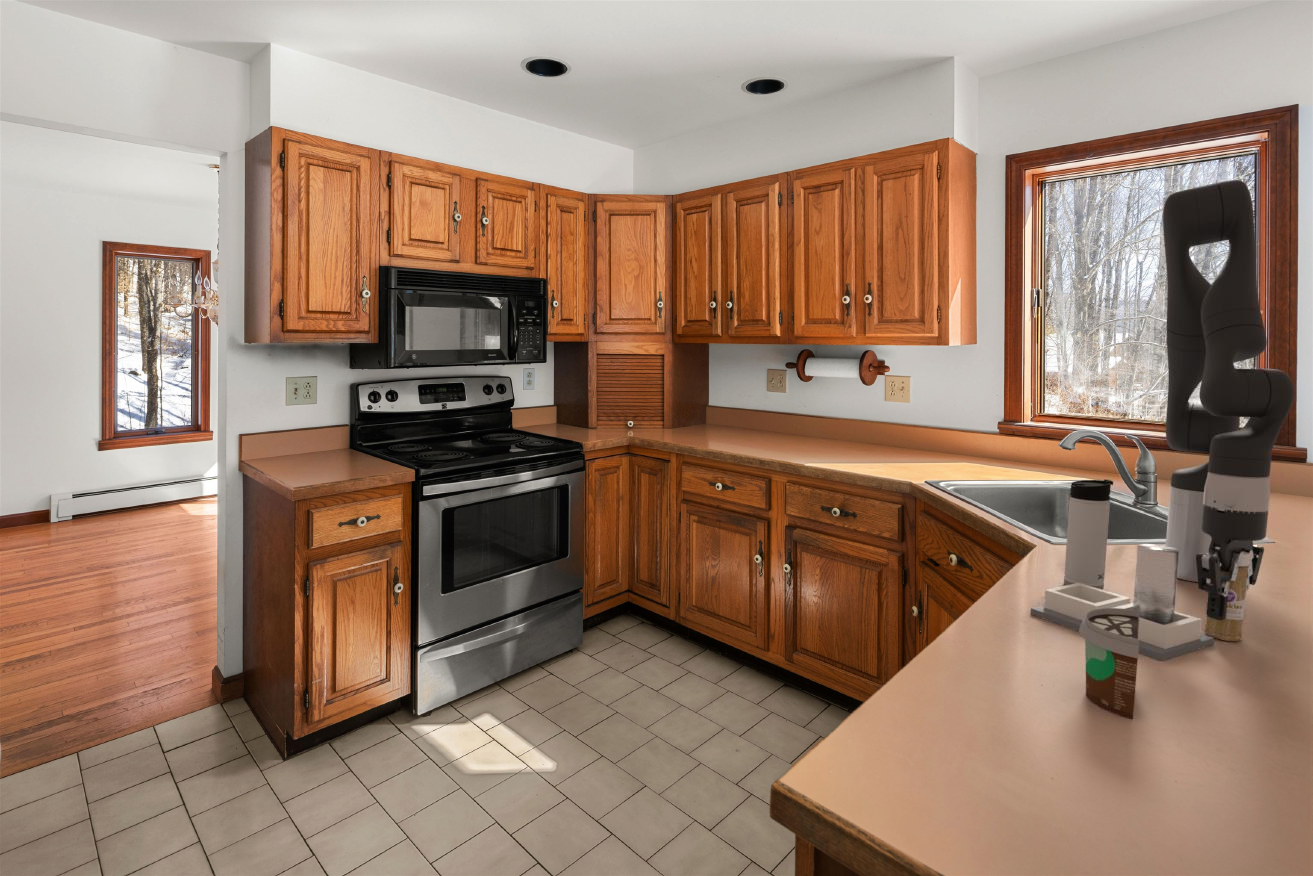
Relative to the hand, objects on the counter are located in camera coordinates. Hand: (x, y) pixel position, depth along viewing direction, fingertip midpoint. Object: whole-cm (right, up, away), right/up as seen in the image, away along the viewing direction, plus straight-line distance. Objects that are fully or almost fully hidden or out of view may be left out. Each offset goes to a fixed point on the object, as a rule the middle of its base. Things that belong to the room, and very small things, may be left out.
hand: (1224, 615), depth 106 cm
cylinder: (-12, -4, -1) cm, 12 cm away
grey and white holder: (-14, -3, +4) cm, 15 cm away
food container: (-30, -6, -18) cm, 35 cm away
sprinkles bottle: (0, -4, 0) cm, 3 cm away
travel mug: (-7, -1, +24) cm, 25 cm away
